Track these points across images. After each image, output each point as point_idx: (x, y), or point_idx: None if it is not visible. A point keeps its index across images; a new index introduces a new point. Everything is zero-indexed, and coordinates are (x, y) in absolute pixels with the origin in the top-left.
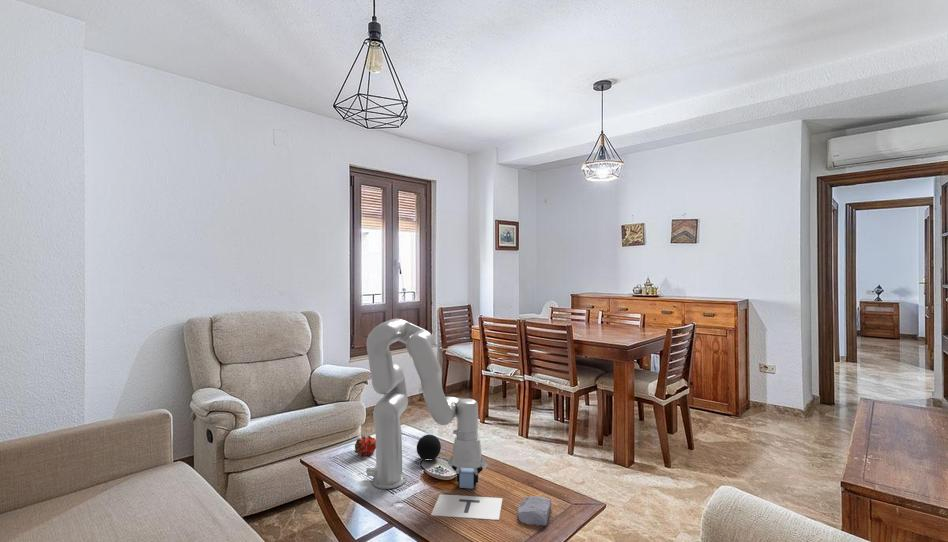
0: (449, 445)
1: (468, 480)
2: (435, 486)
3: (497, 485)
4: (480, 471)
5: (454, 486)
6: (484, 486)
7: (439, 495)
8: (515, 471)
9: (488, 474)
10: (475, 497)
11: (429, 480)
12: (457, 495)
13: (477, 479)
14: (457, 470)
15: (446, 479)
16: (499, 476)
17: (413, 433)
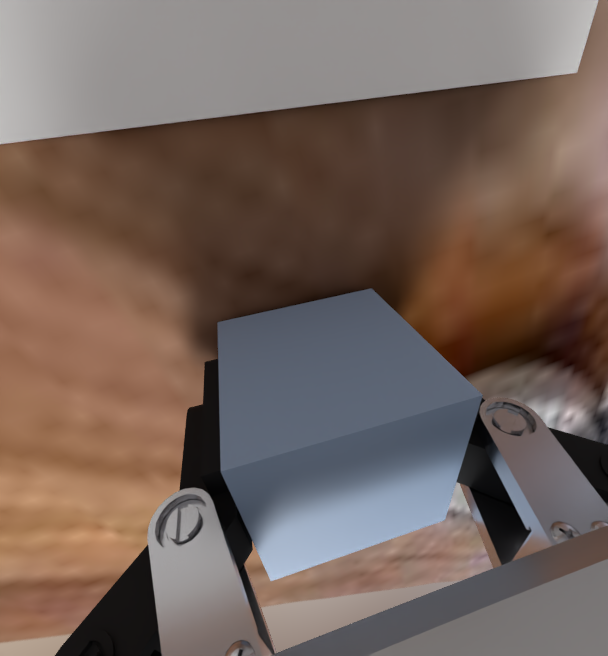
0: (464, 576)
1: (292, 365)
2: (576, 250)
3: (7, 471)
4: (107, 598)
5: (418, 306)
6: (131, 409)
7: (588, 30)
8: (29, 631)
9: None
10: (56, 97)
11: (599, 319)
12: (362, 94)
13: (187, 439)
14: (536, 444)
15: (483, 375)
16: (101, 555)
17: None
